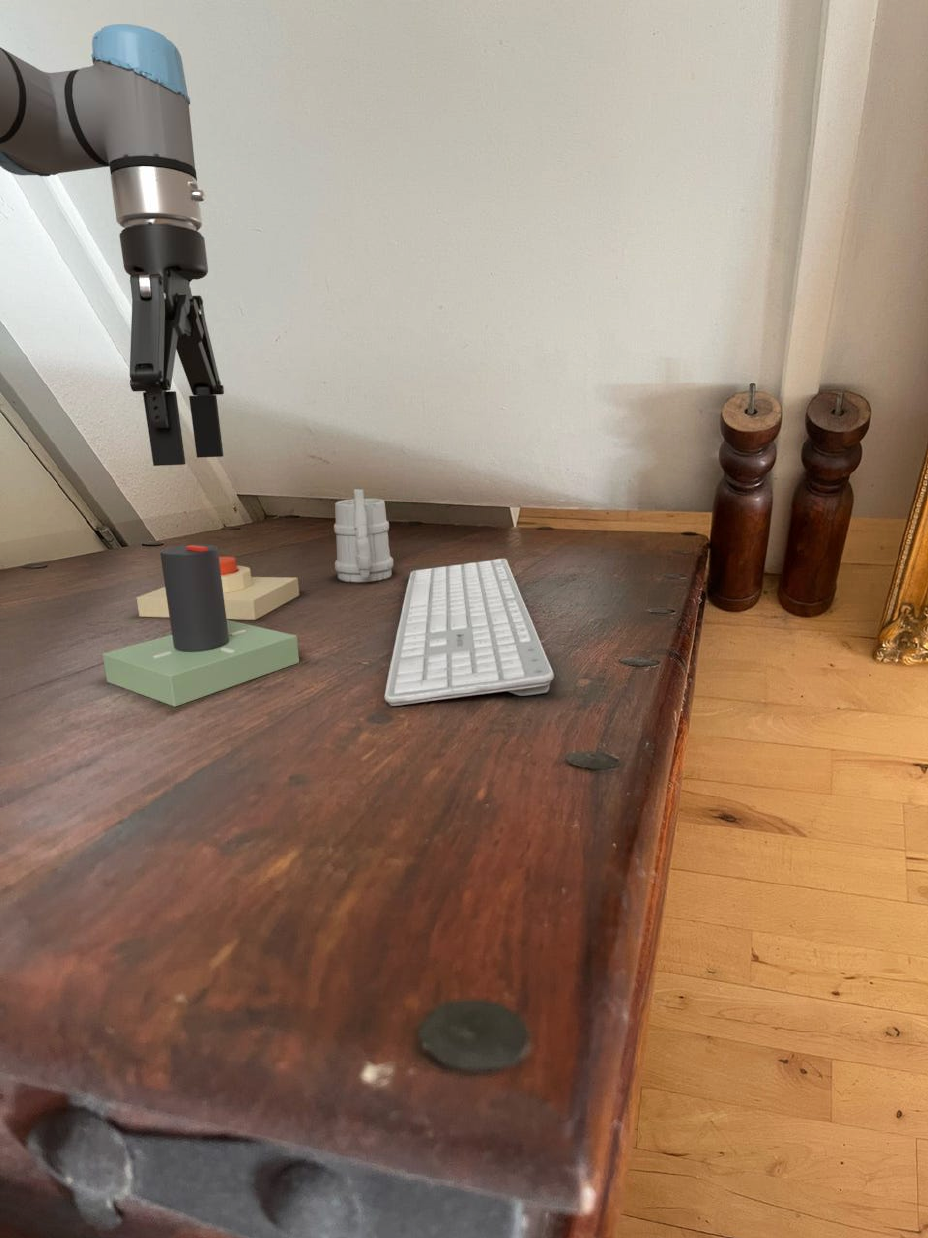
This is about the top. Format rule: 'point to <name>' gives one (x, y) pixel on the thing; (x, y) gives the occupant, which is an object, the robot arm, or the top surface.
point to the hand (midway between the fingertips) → (191, 461)
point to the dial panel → (199, 664)
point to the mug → (362, 539)
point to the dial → (195, 597)
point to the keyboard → (465, 637)
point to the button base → (234, 596)
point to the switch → (227, 565)
